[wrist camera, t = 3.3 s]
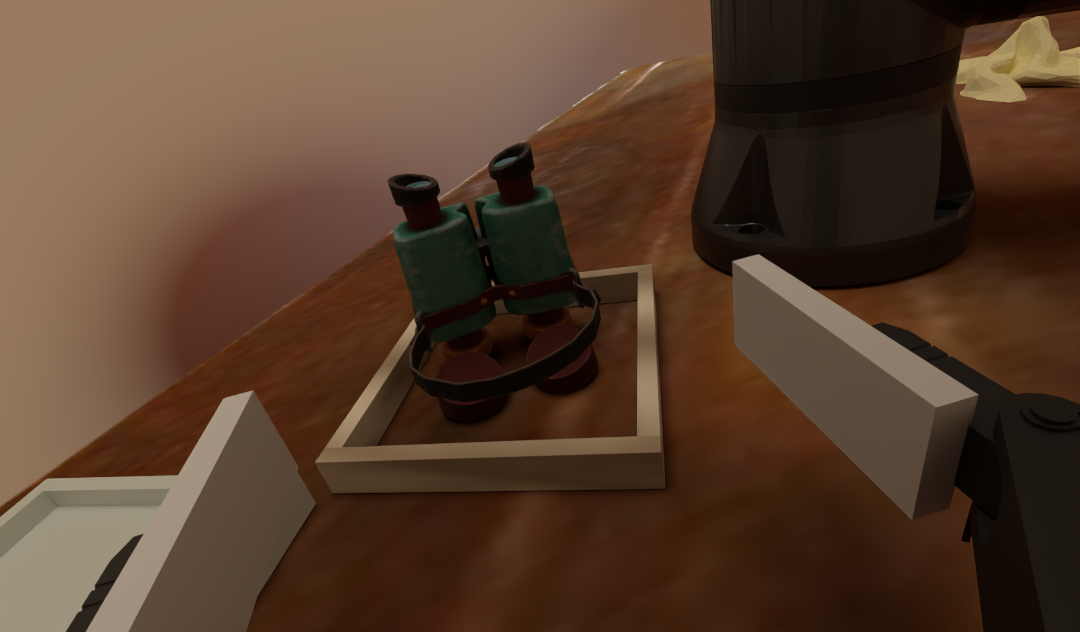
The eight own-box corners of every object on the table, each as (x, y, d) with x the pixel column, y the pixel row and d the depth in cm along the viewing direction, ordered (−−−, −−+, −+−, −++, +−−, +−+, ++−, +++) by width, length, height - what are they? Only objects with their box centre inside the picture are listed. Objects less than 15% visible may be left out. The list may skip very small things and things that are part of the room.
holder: (442, 313, 34) (434, 289, 33) (654, 291, 31) (652, 264, 30) (332, 493, 22) (314, 462, 21) (665, 488, 19) (660, 452, 18)
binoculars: (347, 268, 17) (362, 171, 25) (444, 477, 23) (430, 343, 31) (616, 194, 17) (544, 123, 25) (640, 415, 23) (576, 301, 31)
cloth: (898, 79, 65) (905, 23, 62) (1108, 53, 56) (1127, -13, 53) (908, 126, 49) (918, 54, 46) (1204, 101, 40) (1240, 9, 37)
